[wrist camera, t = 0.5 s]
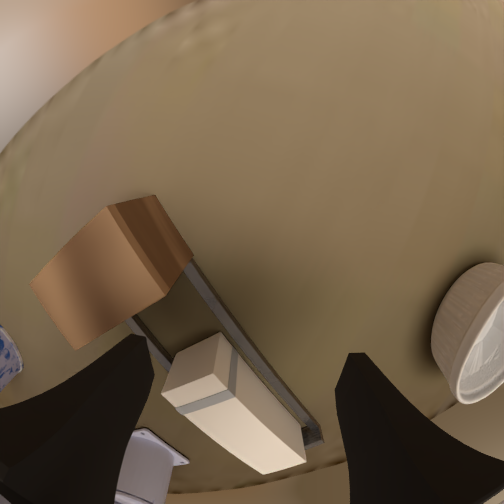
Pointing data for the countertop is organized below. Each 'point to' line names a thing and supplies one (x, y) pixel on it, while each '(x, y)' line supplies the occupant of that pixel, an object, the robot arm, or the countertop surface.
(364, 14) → the countertop surface
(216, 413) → the banded cream case
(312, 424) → the guide channel
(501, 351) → the ramekin
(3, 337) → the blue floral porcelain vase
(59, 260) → the socket block
